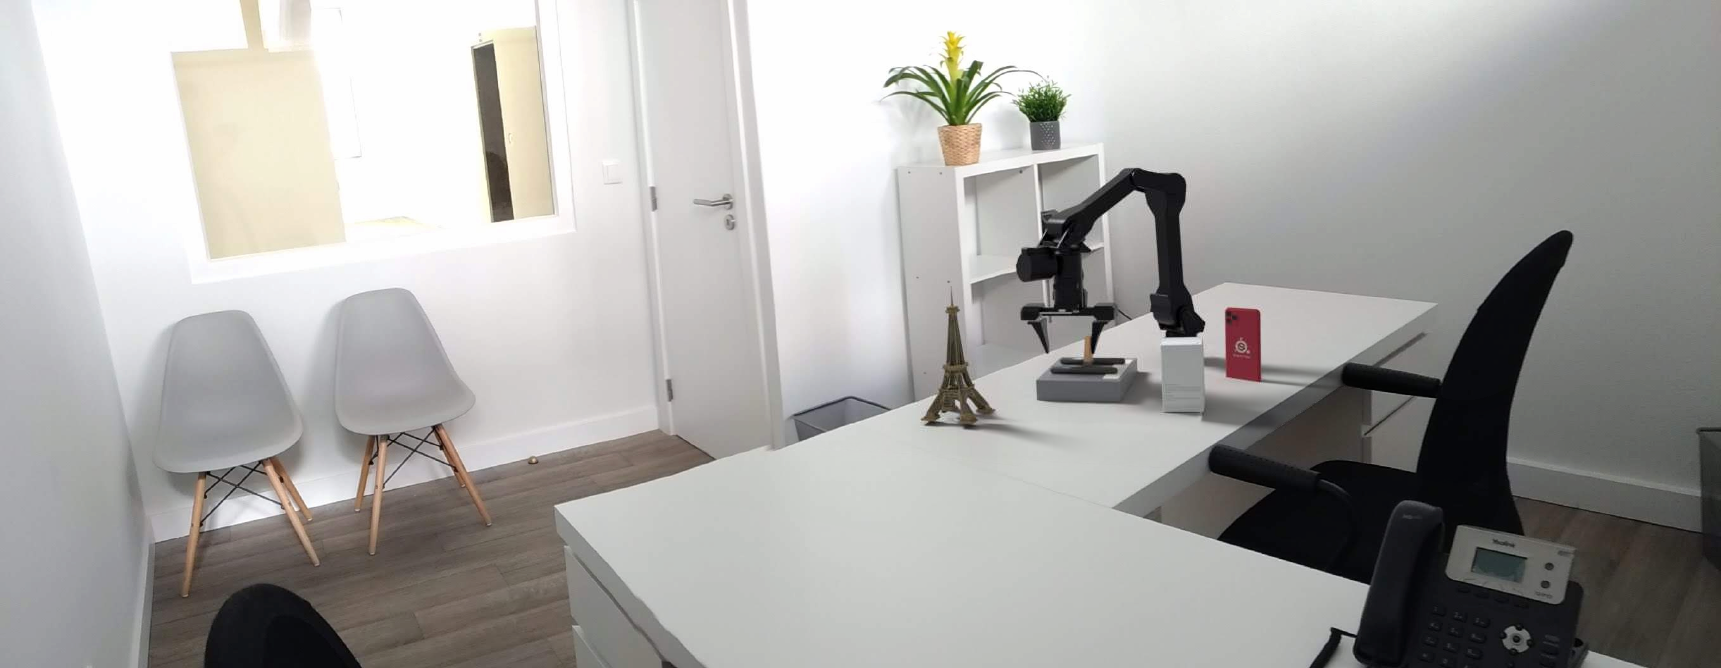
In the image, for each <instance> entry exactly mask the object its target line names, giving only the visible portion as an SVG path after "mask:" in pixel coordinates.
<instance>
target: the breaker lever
mask: <svg viewBox="0 0 1721 668" xmlns="http://www.w3.org/2000/svg"><path fill="white" fill-rule="evenodd" d="M1091 339H1092V333H1087V334H1086V336H1085V337H1084V350H1083V358H1084V363H1083V364H1082V367H1091V366H1092V365H1093V364H1094V359H1093V358H1094V356H1093V355H1094V354H1092V351H1091Z"/></svg>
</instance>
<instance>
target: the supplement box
mask: <svg viewBox="0 0 1721 668" xmlns="http://www.w3.org/2000/svg"><path fill="white" fill-rule="evenodd" d="M1159 346H1160V363H1161V365H1160V367H1161V394H1162V397H1161V398H1162V412H1163V413H1204V412H1205V408H1206V407H1205V406H1206V393H1205V392H1206V389H1205V388H1206V387H1205V385H1206V384H1205V355H1204V354H1205V352H1204V351H1205V350H1204V349H1205V348H1204V339H1203V337H1202V336H1198V337H1179V338H1164V337H1163V338H1162V340H1161V343H1160V345H1159Z"/></svg>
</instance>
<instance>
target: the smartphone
mask: <svg viewBox="0 0 1721 668" xmlns="http://www.w3.org/2000/svg"><path fill="white" fill-rule="evenodd" d="M1261 316H1262V315H1261V310H1259V309H1257V308H1248V307H1246V308H1245V307H1232V306H1231V307H1230V306H1229V307H1226V309H1225V310H1224V331H1225V332H1224V334H1225V335H1224V339H1225V340H1224V341H1225V378H1228V379H1234V380H1241V381H1248V382H1254V383H1261V382H1262V345H1261V344H1262V340H1261V339H1262V333H1261V332H1262V331H1261V327H1262V326H1261V325H1262V324H1261V323H1262V322H1261V321H1262V320H1261V319H1262V318H1261Z"/></svg>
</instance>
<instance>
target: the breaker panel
mask: <svg viewBox="0 0 1721 668" xmlns="http://www.w3.org/2000/svg"><path fill="white" fill-rule="evenodd" d="M1093 359H1094V364H1093V365H1092V366H1091V367H1082V364H1083V363H1084V356H1083V357H1082V356H1081V357H1076V356H1075V357H1070V356H1068V357H1067V356H1066V357H1065V356H1063V357H1060V358H1059V359H1057V360H1056V361H1055V362H1054V363H1053V364H1052V365H1051V366H1050V367H1048V369H1046V370H1045V371H1044V372H1043V373H1041V375H1040V376H1039V377H1038V378H1037V379H1036V380H1035V381H1036V382H1035V385H1036V387H1035V388H1036V389H1035V391H1036V400H1037V401H1061V402H1062V401H1063V402H1064V401H1065V402H1095V403H1096V402H1097V403H1101V402H1102V403H1105V402H1106V403H1121V402H1122V400H1123V397H1124V396H1125V395H1126V393H1127V392H1128V388H1129V387H1130V385H1131V383H1132V382H1133V380H1134V378H1135V376H1136V375H1137V373H1138V359H1137V357H1136V358H1135V357H1134V358H1132V357H1130V358H1129V357H1127V358H1126V357H1093ZM1135 374H1136V375H1135ZM1125 392H1126V393H1125Z"/></svg>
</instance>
